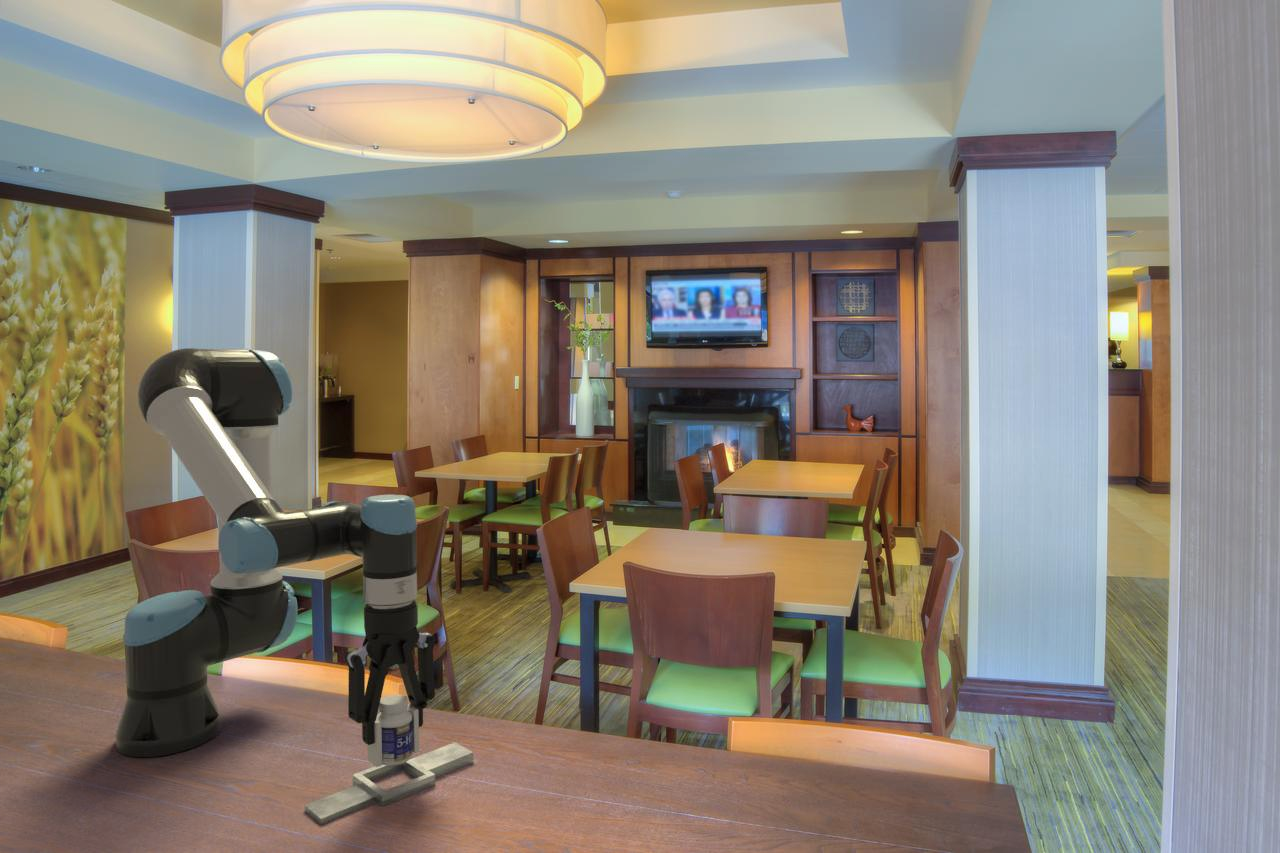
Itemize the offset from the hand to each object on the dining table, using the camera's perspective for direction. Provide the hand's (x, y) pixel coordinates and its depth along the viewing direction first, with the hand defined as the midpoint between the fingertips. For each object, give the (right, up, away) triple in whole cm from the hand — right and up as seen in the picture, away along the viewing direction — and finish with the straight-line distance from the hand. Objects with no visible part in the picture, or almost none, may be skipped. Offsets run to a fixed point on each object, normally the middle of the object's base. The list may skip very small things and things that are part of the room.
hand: (393, 755), depth 121 cm
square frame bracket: (0, -5, 0) cm, 4 cm away
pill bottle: (0, -1, 0) cm, 1 cm away
